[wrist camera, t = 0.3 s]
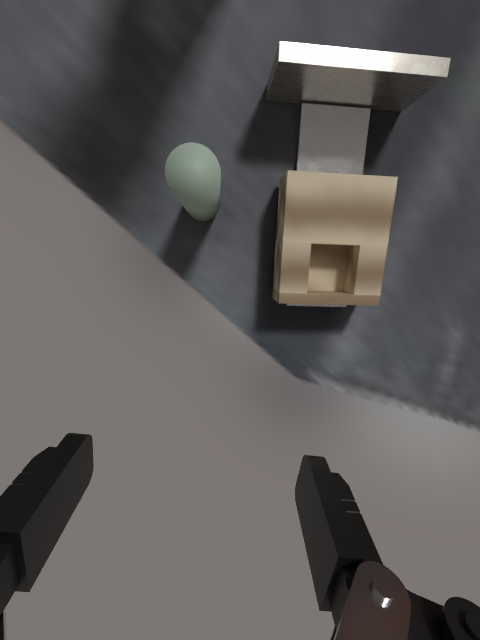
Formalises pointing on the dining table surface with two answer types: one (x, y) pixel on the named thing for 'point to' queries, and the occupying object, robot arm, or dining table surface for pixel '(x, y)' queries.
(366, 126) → the rail base
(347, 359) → the dining table surface
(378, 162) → the dining table surface
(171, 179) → the dowel
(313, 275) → the socket block
